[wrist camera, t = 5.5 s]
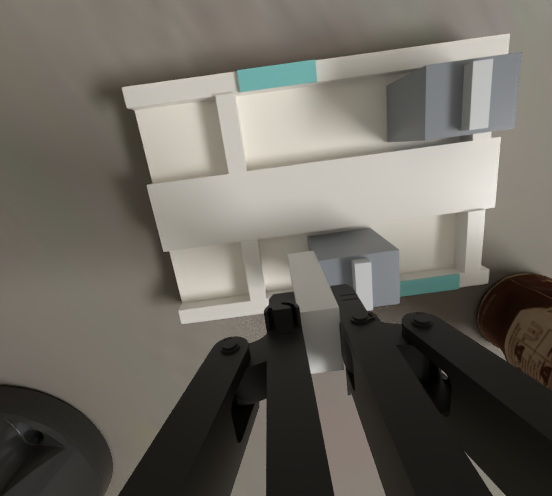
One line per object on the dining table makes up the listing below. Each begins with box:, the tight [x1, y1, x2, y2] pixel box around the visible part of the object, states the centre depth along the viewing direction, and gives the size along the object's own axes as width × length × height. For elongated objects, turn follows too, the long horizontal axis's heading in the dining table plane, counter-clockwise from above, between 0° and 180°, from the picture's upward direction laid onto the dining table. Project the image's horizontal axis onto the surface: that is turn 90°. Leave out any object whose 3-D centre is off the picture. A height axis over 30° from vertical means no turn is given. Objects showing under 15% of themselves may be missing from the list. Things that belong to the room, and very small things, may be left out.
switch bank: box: [122, 34, 510, 324], centre depth 19 cm, size 20×14×3 cm
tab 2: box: [386, 52, 522, 142], centre depth 15 cm, size 4×3×5 cm
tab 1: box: [307, 228, 400, 311], centre depth 18 cm, size 4×3×5 cm
